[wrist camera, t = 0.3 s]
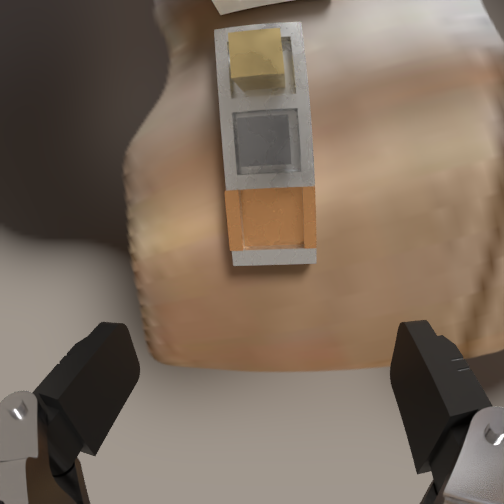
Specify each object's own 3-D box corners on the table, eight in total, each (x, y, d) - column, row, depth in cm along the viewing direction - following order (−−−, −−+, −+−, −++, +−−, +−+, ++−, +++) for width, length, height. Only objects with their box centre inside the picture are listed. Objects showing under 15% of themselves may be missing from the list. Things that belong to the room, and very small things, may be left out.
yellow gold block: (239, 52, 28) (228, 32, 22) (281, 49, 27) (279, 27, 21) (242, 90, 29) (231, 78, 23) (285, 87, 29) (284, 73, 23)
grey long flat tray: (217, 37, 28) (211, 29, 26) (300, 29, 27) (301, 21, 25) (235, 258, 37) (231, 266, 34) (314, 255, 36) (316, 263, 33)
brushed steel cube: (244, 122, 31) (236, 117, 26) (288, 119, 30) (287, 114, 25) (247, 164, 32) (240, 166, 27) (290, 161, 31) (291, 164, 27)
